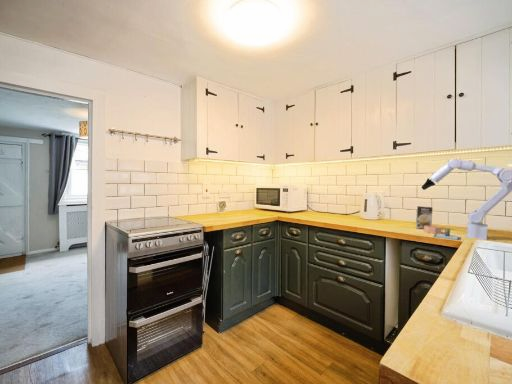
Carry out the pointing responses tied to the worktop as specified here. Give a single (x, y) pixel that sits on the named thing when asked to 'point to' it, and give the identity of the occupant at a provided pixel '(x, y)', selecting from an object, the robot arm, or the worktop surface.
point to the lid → (447, 235)
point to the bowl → (432, 229)
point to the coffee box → (423, 217)
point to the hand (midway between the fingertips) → (422, 188)
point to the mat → (446, 238)
